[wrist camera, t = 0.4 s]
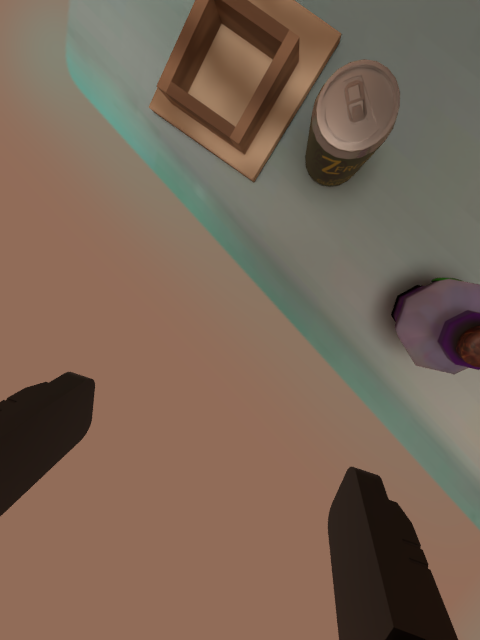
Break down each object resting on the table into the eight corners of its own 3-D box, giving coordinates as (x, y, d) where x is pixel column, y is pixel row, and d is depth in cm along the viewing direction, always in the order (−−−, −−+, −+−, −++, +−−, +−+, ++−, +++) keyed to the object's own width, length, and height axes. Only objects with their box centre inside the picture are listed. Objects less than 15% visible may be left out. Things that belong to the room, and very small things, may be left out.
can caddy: (223, -40, 27) (210, -95, 23) (339, 42, 27) (348, 3, 23) (153, 111, 31) (130, 90, 27) (254, 182, 31) (247, 172, 27)
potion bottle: (462, 262, 30) (566, 275, 19) (465, 342, 32) (562, 398, 21) (372, 278, 32) (417, 299, 20) (380, 353, 34) (425, 409, 22)
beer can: (300, 139, 30) (304, 75, 18) (355, 120, 29) (397, 39, 17) (310, 194, 31) (321, 166, 19) (364, 178, 30) (409, 138, 18)
